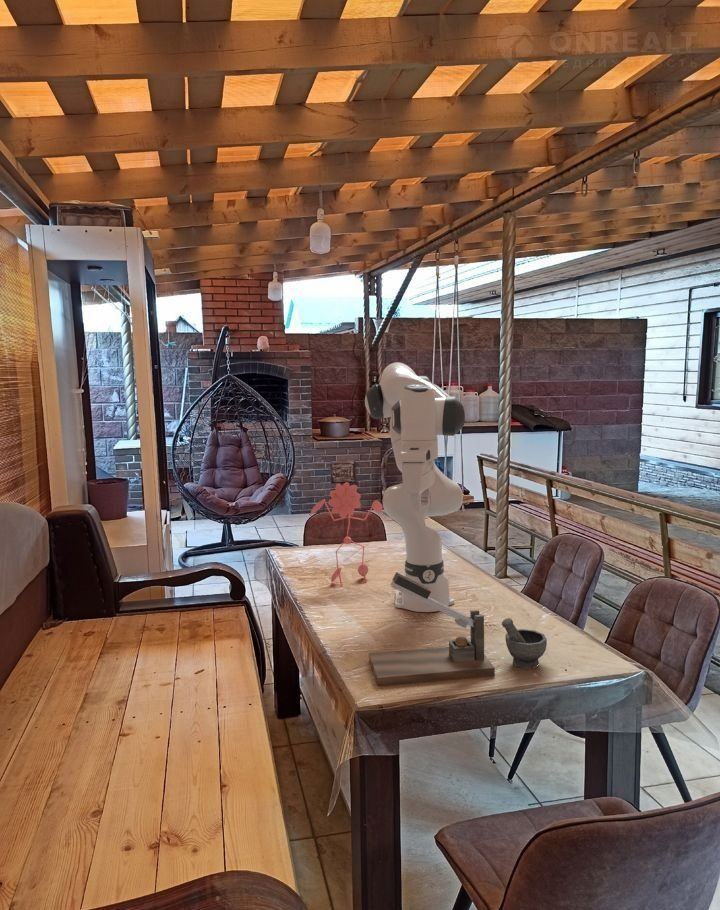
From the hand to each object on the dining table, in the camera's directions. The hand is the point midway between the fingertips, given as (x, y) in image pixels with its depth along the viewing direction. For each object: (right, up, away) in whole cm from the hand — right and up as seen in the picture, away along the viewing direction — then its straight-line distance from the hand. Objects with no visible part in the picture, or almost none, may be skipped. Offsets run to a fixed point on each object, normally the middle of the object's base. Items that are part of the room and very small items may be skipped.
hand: (421, 507), depth 160 cm
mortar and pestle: (+25, -39, +1) cm, 46 cm away
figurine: (-20, -32, +74) cm, 82 cm away
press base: (+2, -39, 0) cm, 39 cm away
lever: (+2, -25, -2) cm, 25 cm away
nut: (+10, -33, 0) cm, 34 cm away
